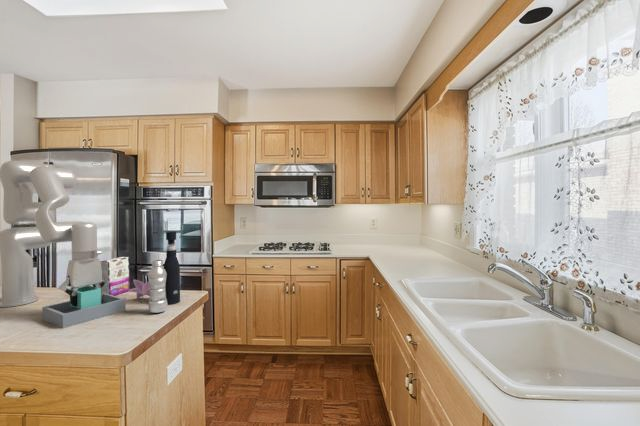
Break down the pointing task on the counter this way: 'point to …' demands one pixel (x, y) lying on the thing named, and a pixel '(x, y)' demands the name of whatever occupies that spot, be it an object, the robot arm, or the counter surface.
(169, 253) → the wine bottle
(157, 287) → the silver ribbed bottle
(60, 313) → the gray crate
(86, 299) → the teal crate
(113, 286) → the candy bar box
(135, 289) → the lily
